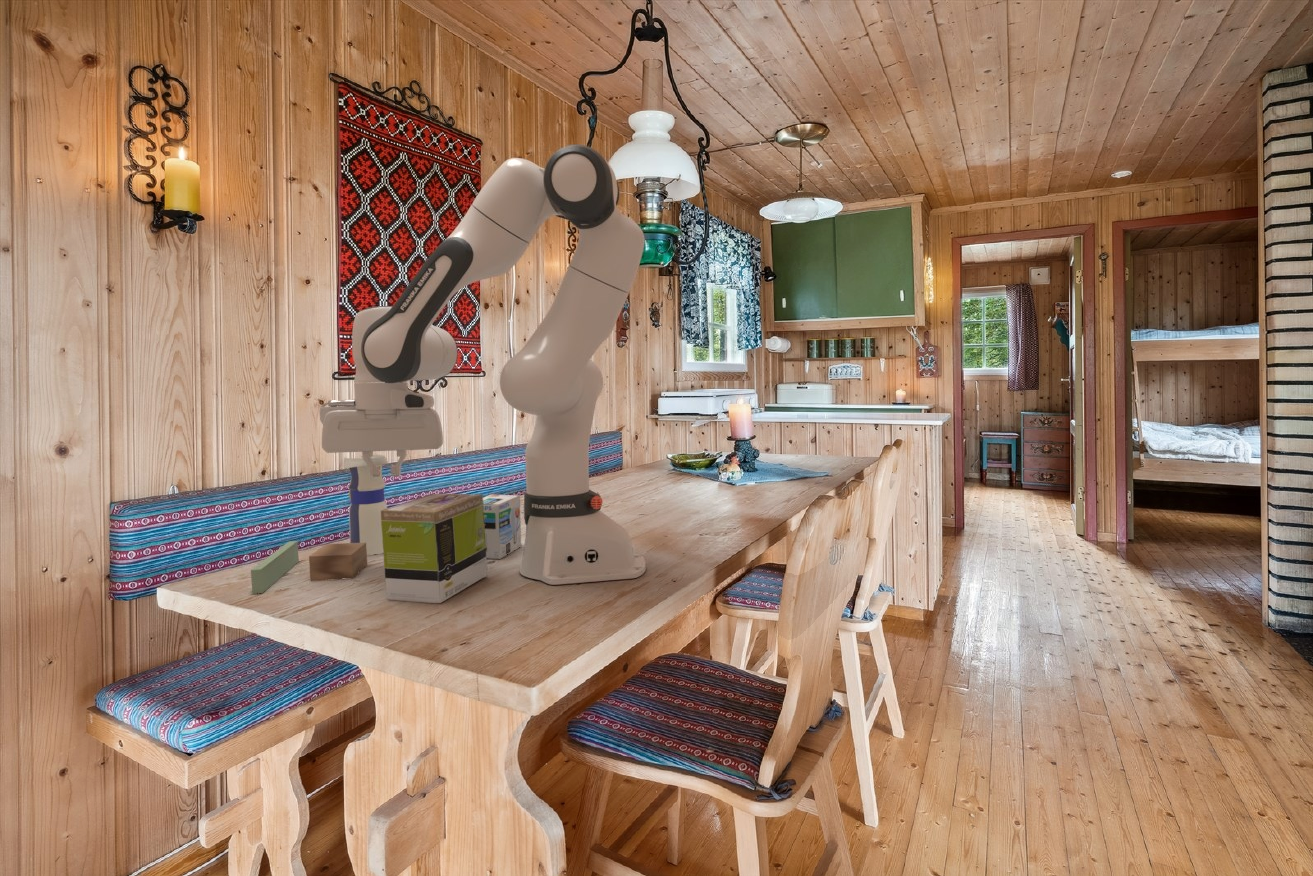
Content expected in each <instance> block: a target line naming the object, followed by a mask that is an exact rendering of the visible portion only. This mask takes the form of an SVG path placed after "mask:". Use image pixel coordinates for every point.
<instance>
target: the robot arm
mask: <svg viewBox="0 0 1313 876" xmlns="http://www.w3.org/2000/svg"><path fill="white" fill-rule="evenodd" d="M619 188H620V187H619V184H618V181H617V178H616V174H615V171H614V169H613V167H611V165H610V163H609V162H608V161H607V160H606V159H605V158H604V156H603V155H602V154H601V153H600V152H598V151H597V150H595V148H592V147H590V146H587V145H584V144H569V145H565V146H563V147H561V148H559V149H558V150H556V151H555V152H554V153H553V154H552V155H551V156H550V157H549V159H548V161H547V162H546V165H545V168H543V167H541V166H539V165H538V164H536V163H535V162H532V161H531V160H528V159H526V158H522V157H512V158H508V159H506V160H505V161H504V162H502V163H501V165H500V166H499V167H498V168H497V169H496V170H495V172H494V173H492V175H491V176H490V177H489V178H488V180H487V181H486V183H485V184H484V185H483V186H482V187H481V189H480V191H479V192H478V193H477V195H476V197H475V198H474V200H473V202H472V203H471V205H470V207H469V208H468V210H467V211H466V213H465V215H464V216H463V218H462V219H461V220H460V222H459V223H458V224H457V226H456V227H455V228H454V230H453V231H452V232H451V233H450V235H449V236H448V237H446V239H444V240H443V241H442V242H441V243H440V244H439V245H438V246H437V247H436V248H435V250H433V251H432V253H431V254H430V255H429V257H427V259H426V260H425V262H424V263H423V264H422V266H421V267H419V270H418V271H417V273H416V274H415V275H414V276H413V278H412V279H411V281H410V282H409V283H408V285H407V286H406V287H405V289H404V290H403V292H402V293H401V294H400V296H399V297H398V299H397V300H396V301H395V303H394V304H393V305H382V306H381V305H379V306H377V305H375V306H370V307H367V308H363V309H361V310H360V311H359V312H356V313H357V314H356V315H355V317H354V320H353V325H352V333H351V334H352V335H351V337H352V339H351V340H352V341H351V342H352V343H351V345H352V350H351V351H352V359H353V363H354V365H355V374H354V375H355V376H354V380H353V381H354V383H353V384H354V385H353V386H354V387H353V388H354V399H342V400H336V399H330V400H328V401H327V402H326V403H323V404H322V405H321V407H320V408H319V420H320V422H321V424H322V428H321V429H322V431H321V448H322V450H323V451H324V452H325V453H327V454H335V453H361V454H362V455H361V456H362V457H363V459H364V461H365V462H366V464H367V465H368V466H369V467H370V476H371V477H378V476H380V466H375V464H374V463H373V461H372V460H371V458H370V457H372V456H373V454H374V452H390V451H391V452H392V451H395V452H396V457H399V458H398V460H397V463H396V464H392V465H390V471H391V472H390V475H391V477H393V476H394V477H399V476H401V475H402V471H401V470H402V467H401V466H402V464H403V463H404V461H405V459H406V457H407V451H417V450H418V451H419V450H421V451H422V450H423V451H424V450H438V449H440V448H441V447H442V446H443V444H444V435H443V427H442V421H441V418H440V415H439V413H438V412H437V411H436V410H435V409H434V408H433V407H434V405H435V399H434V397H433V396H431V395H429V394H426V393H422V392H420V391H418V390H411V389H409V388H408V381H427V380H429V381H430V380H437V379H440V378H444V377H447V375H449V374H450V373H451V372H452V371H453V370H454V368H455V366H456V364H457V362H458V361H457V360H458V353H459V352H458V346H457V343H456V340H455V338H454V337H453V335H452V334H451V333H449V332H448V331H447V330H446V329H443V328H441V327H439V326H436V325H433V324H434V322H435V320H436V319H437V318H438V317H439V315H440V314H441V313H442V311H443V309H444V308H445V306H446V305H448V303H449V301H450V300H451V299H452V297H453V296H454V295H456V294H457V292H458V291H461V289H463V288H465V287H466V286H469V285H471V284H473V283H476V282H479V281H482V280H487V279H491V278H498V277H500V276H502V275H505V274H507V273H508V272H509V271H510V270H511V269H512V268H513V267H514V266H515V265H516V264H517V263H518V262H519V261H520V259H522V257H523V255H524V254H525V252H526V251H527V249H528V247H529V246H530V244H531V242H532V241H533V239H534V237H535V236H536V234H537V233H538V232H539V229H540V228H541V227H542V225H543V224H544V223H545V222H546V221H547V220H548V219H550V218H551V217H554V216H555V217H558V218H560V219H564V220H566V221H567V220H568V221H569V222H570V223H571V224H572V225H574V227H575V228H577V231H578V241H577V245H576V248H575V249H574V253H573V255H572V257H571V260H570V263H569V265H568V267H567V269H566V272H565V274H564V277H563V278H562V281H561V284H560V285H559V289H558V291H557V293H556V295H555V297H554V300H553V302H552V303H551V306H550V307H549V310H548V311H547V312H546V315H545V317H544V318H543V319H542V321H541V322H540V323H539V325H538V326H537V328H536V329H535V331H534V332H533V333H532V335H531V336H530V338H529V339H528V341H527V342H526V343H525V345H523V347H522V348H521V350H519V351H518V352H517V353H516V354H515V355H513V356H512V357H511V358H509V360H507V362H506V363H505V364H504V366H503V367H502V369H501V373H500V375H499V376H500V378H499V385H500V387H499V388H500V391H501V394H502V396H503V398H504V400H505V401H506V403H507V404H508V405H509V406H510V407H512V408H513V409H515V410H517V411H520V412H522V413H525V414H529V415H533V416H536V418H535V419H536V420H535V425H534V428H533V432H532V434H531V437H530V439H529V441H528V442H527V444H526V447H525V452H524V453H525V454H524V455H525V459H524V460H525V483H526V486H525V487H526V492H525V493H524V494H523V520H524V524H525V526H526V527H525V539H524V546H523V547H524V548H523V553H522V559H521V563H520V567H519V570H518V571H519V573H520V575H522V577H526V578H529V579H533V580H537V581H542V582H544V583H545V584H548V585H551V586H552V585H553V586H555V585H569V584H579V583H589V582H590V583H591V582H603V581H615V580H628V579H630V580H631V579H635V578H638V577H640V576H642V575H643V574H644V573H645V572H646V570H647V564H646V560H645V557H643V556H642V555H641V554H639V553H635V552H634V551H635V550H634V545H633V542H632V541H633V540H632V539H631V536H630V533H629V531H628V530H626V528H625V527H623V526H622V525H621V524H619V523H618V522H616V521H615V520H614V519H612V518H611V517H609V516H608V515H607V514H605V513H604V512H602V511H601V509H602V505H603V498H602V496H601V495H600V493H599V492H597V491H596V492H595V491H593V490H591V489H590V467H589V464H590V463H589V459H590V458H589V457H590V455H589V451H590V450H589V449H590V438H591V432H592V427H593V421H594V416H595V410H596V405H597V402H598V399H599V397H600V395H601V393H602V391H603V387H604V386H603V385H604V377H603V375H602V371H601V369H600V367H599V366H598V365H597V364H596V362H594V361H593V360H591V358H592V357H593V356H594V354H595V353H596V352H597V350H598V349H599V348H600V346H601V345H602V344H603V343H604V342H605V341H606V340H607V339H608V338H610V335H612V333H613V330H614V329H615V325H616V323H617V321H618V319H619V317H620V316H621V312H622V310H623V308H624V305H625V303H626V301H627V299H628V296H629V294H630V292H631V290H632V287H633V285H634V282H635V279H636V277H637V273H638V271H639V267H640V263H641V260H642V256H643V253H644V249H645V242H646V239H645V234H644V232H643V230H642V229H641V227H640V225H638V224H637V222H635V221H634V219H631V217H629V216H627V215H625V214H623V213H622V212H620V211H619V209H618V204H619V199H620V189H619Z"/></svg>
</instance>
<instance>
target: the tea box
mask: <svg viewBox="0 0 1313 876" xmlns="http://www.w3.org/2000/svg"><path fill="white" fill-rule="evenodd" d="M483 498H484V497H483V494H479V493H477V494H470V493H469V494H468V493H430V494H426V495H424V496H421V497H418V498H415V499H412V500H409V501H405V502H403V503H399V504H396V505H393V506H391V507H387V509H384V510H381V526H382V537H383V551H384V553H383V564H384V565H383V566H384V575H385V576H384V577H385V579H384V580H385V581H384V583H385V593H386V599H387V600H388V601H397V602H409V603H422V604H423V603H425V604H427V603H428V604H441V603H443V602H445V601H446V600H448V599H450V598H451V597H453V596H455V595H456V594H458V593H460V592H461V591H463V590H465V589H466V588H469V587H470V586H472V585H473V584H475V583H477V582H479V581H481V580H482V579H484V578H486V577H487V576H488V562H487V559H488V558H486V542H485V526H484V511H483Z"/></svg>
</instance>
